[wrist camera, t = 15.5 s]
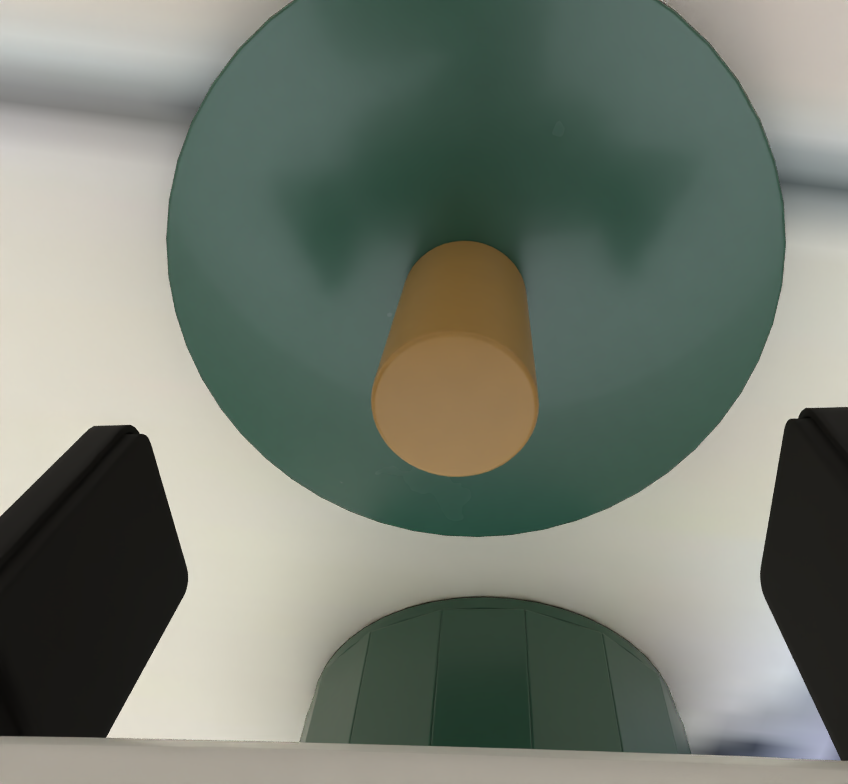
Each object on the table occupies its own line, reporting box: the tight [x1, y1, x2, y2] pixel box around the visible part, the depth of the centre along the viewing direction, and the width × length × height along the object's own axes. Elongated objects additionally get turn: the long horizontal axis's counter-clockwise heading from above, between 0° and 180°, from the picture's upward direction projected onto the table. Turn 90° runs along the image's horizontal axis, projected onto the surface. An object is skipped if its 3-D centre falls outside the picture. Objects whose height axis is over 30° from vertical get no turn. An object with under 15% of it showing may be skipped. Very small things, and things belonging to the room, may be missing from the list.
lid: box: [166, 0, 786, 537], centre depth 15 cm, size 14×14×6 cm
